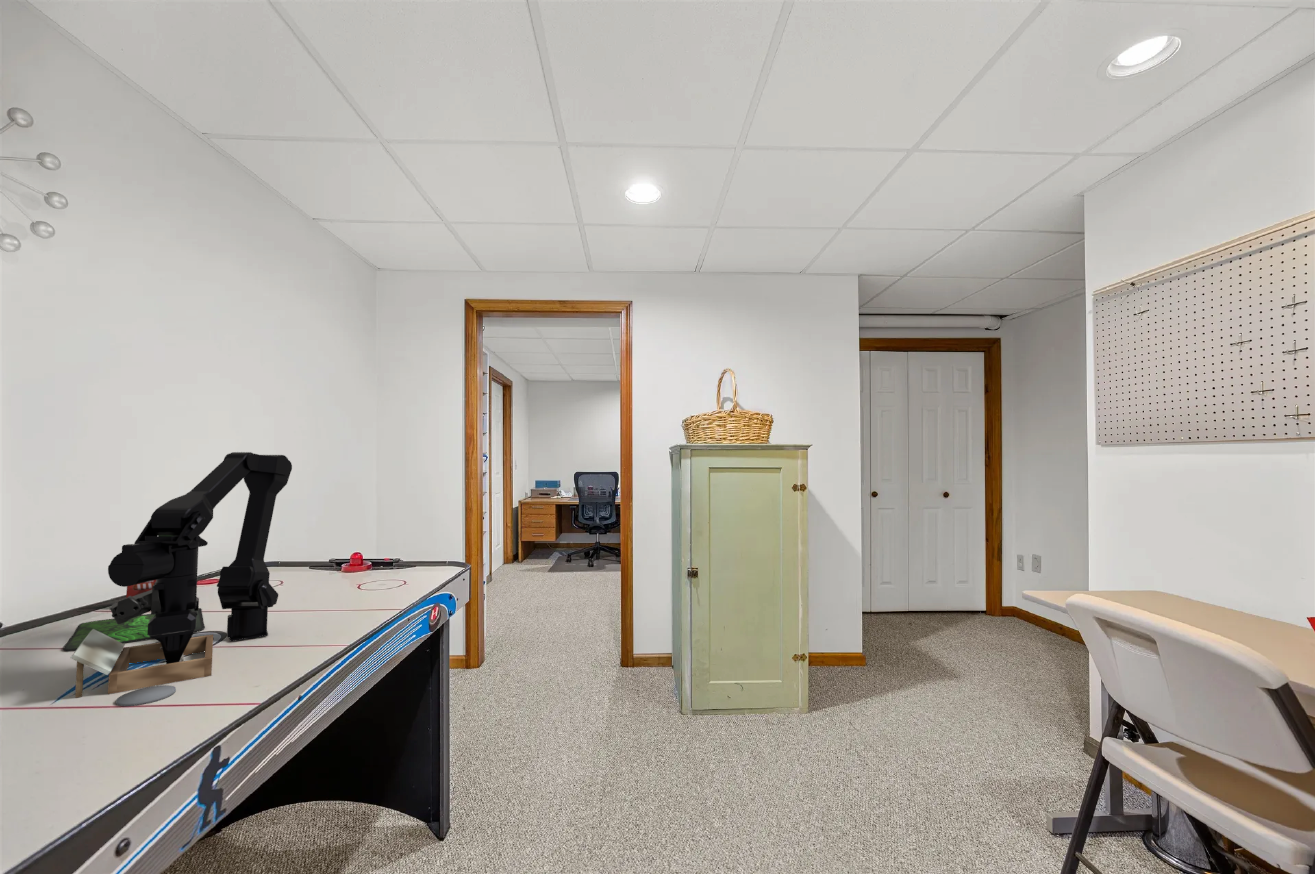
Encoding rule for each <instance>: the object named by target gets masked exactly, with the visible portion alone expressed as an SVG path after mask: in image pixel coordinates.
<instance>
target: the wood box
mask: <svg viewBox="0 0 1315 874" xmlns="http://www.w3.org/2000/svg"><path fill="white" fill-rule="evenodd" d="M125 646H126V643H121V642H119V641H117V640H115V639H113V638H111V637H109V636H107V635H105V634H103V633H101V632H98V631H96V630H94V629H93V630H92V631H91V632H90V633H89V634H88V635H87V637H86V638H85V639H84V641H83V642H82V643H81V644H80V646H79V647H78V648H77V650H76V651H73V654H72V655H71V656H70V659H71V660H73V661H76V672H75V673H76V675H75V696H74V697H75V699H77V698H82V697H83V689H84V675H85V674H84V670H85V668H84V667H85V666H87V667H89V668H91V669H93V670H95V671H97V672H100V673H102V674H104V675H106V676H108V684H107V685H108V687H107V695H110V694H111V695H112V694H117V693H123V692H127V691H128V692H130V691H135V690H138V689H142V688H144V687H145V688H147V687H152V686H155V685H156V686H161V685H168V684H172V683H178V682H182V681H189V680H194V679H199V678H205V677H211V676H212V674H213V673H212V670H213V669H212V668H213V652H214V651H213V650H214V649H213V647H214V634H207V635H200V636H194V637H193V636H192V637H191V639H190V641H189V643H188V645H187V647H186V649H185V651H184V653H183V655H185V656H189V655H188V654H191V655H193V654H192V653H197V654H201V653H200V652H204V651H205V652H204V657H201V658H195V659H189V660H184V661H182V662H176V663H170V664H166V663H165V664H164V663H163V664H160V665H159V664H158V665H151V666H147V667H140V668H134V669H129V666H130V664H129V663H135V664H138V663H137V662H141V663H144V662H143V661H148V662H152V661H153V660H154V661H158V660H157V659H160V660H165V657H164V653H163V650H161V649H160V647H162V645H161V643H160V642H159V641H157V642H153V643H146V644H140V645H139V644H138V645H131V646H126V647H125ZM151 660H152V661H151ZM127 668H128V669H129V670H128V669H127Z"/></svg>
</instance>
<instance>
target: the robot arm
mask: <svg viewBox="0 0 1315 874" xmlns="http://www.w3.org/2000/svg"><path fill="white" fill-rule="evenodd" d="M292 469H293V465H292V462H291V460H289V458H288V457H287V456H286V455H284V454H258V453H253V452H252V451H246V452H245V451H241V452H239V451H237V452H236V451H235V452H230V453H227V454H226V455H225V456H224V458H223V461H221V462H220V463H219V464H218V465H217V466H216V467H215V468H214V469H213V470H211V472H210V473H209V474H207V475H206V476H205V477H204V478H203V479H202V480H201V481H200V482H199V483H197V485H195V487H193V488H192V489H191V490H190V491H189V492H187V493H185V494H183V495H179V496H177V497H176V498H175V497H174V498H172V499H170V500H168V501H167V502H165V503H163V504H162V505H160V506H159V507H157V508H156V509H155V510H154V511H153V512H152V514H151V516H150V519H149V520H148V522H147V523H146V524H145V526H144V528H143V529H142V531H141V532H140V534H139V535H138V537H137V538H136V540H135V541H134V543H128V544H122V546H121V552H119V553H118V554H116V555H115V556H114V557H113V558H112V560H111V561H110V564H109V565H108V566H107V567H108V568H107V574H108V577H109V579H110V580H111V582H112V583H113V584H115V585H117V586H119V587H124V588H127V586H131V585H136V584H140V583H144V582H148V581H153V580H156V582H155V583H154V585H153V587H152V590H149V591H147V592H143V593H141V594H138V595H135V596H128V598H126V597H125V598H123V599H121V598H120V599H119V600H118V601H117V602H114V603H113V604H112V605H111V606H110V607H109V611H110V612H111V617H112V619H113V618H115V620H116V622H117V624H122V623H125V622H127V621H128V620H129V619H132V618H134V617H137V616H139V615H145V614H148V613H150V614H151V615H152V614H156V615H155V616H154V617H153V618H151V619H150V621H149V623H148V633H147V635H148V636H149V637H150V638H152V639H151V640H153V639H154V640H155V641H157V642H160V643H161V645H162V649H163V653H164V657H165V659H164V660H165V664H170V663H176V662H179V661H180V659H181V657H182V655H183V653H184V651H185V649H186V647H187V645H188V643H189V641H190V639H191V638H192V637H193V634H194V633H195V632H194V631H195V629H196V617H197V614H198V609H199V608H200V607H199V606H200V598H199V597H197V595H198V594H197V591H198V589H197V588H198V587H197V586H198V565H199V548H201V547H206V546H208V545H209V544H208V541H206V540H205V539H204V538H202V537H201V536H200V535H202V534H203V533H204V531H205V530H206V529H207V527H208V526H209V525H210V523H211V522H212V521H213V519H214V509H215V508H216V506H217V505H218V504H219V503H220V502H221V501H222V500H223V499H224V498H225V497H226V496H228V494H229V493H231V491H232V490H233V489H234V488H235V487H236V486H237V485H238V484H239V483H241V481H242V480H243V482H244V484H245V486H246V488H247V490H248V492H249V495H248V500H247V503H246V508H245V513H244V518H243V522H242V527H241V532H240V537H239V541H238V547H237V551H236V555H235V559H234V560H233V561H231V563H230V564H229V565H228V566H222V568H221V569H220V573H219V580H218V583H217V584H216V588H217V595H218V599H219V602H220V606H221V609H222V610H231V612H230V614H228V615H227V620H226V621H227V623H226V625H227V626H226V637H227V638H229V642H238V641H244V640H251V639H255V638H263V637H267V636H269V631H268V616H269V615H268V612H269V608H273V607H274V605H277V601H278V599H279V593H278V592H277V591H276V590H275V588H274V587H273V586H272V585H271V583H270V571H269V569H268V566H267V565H266V563H265V554H266V550H267V549H266V548H267V544H268V540H269V539H268V538H269V536H270V535H269V534H270V531H271V530H270V528H271V525H272V520H273V514H274V510H275V504H276V499H277V495H278V494H279V493H280V492H281V491H282V490H283V489H284V488H285V486H286V485H287V484H288V482H289V479H290V477H291V472H292ZM189 609H194V611H192V610H189Z"/></svg>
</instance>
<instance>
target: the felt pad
mask: <svg viewBox="0 0 1315 874" xmlns="http://www.w3.org/2000/svg"><path fill="white" fill-rule="evenodd" d="M176 691H177V690H176V686H175V685H169V684H162V685H156V686H151V687H145V688H140V689H134V690H130V691H128V692H127V693H126V692H125V693H124V694H122V695H120V696H118V697H117V699H116V700H115V703H116V705H117V706H121V707H135V706H134V705H136V706H143V705H147V704H151V703H154V702H158V700H159V701H161V699H162V700H163V699H167V698H169V697H170V696H173V695H174V694H175V693H176ZM146 703H147V704H146Z"/></svg>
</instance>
